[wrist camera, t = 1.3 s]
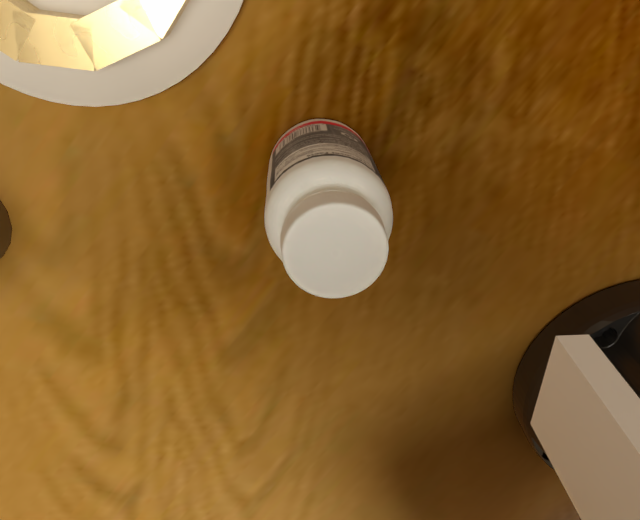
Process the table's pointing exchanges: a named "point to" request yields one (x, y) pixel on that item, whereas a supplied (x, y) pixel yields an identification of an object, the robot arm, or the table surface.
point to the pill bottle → (327, 209)
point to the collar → (84, 32)
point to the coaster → (126, 58)
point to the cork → (4, 230)
